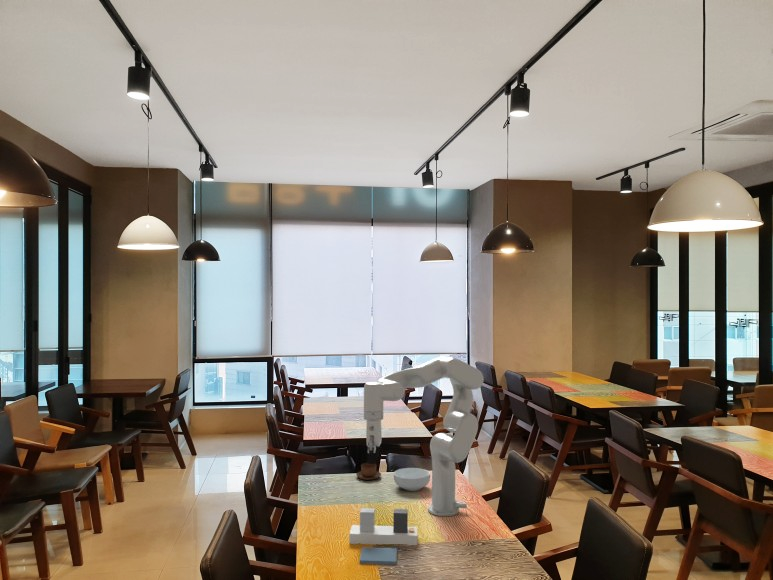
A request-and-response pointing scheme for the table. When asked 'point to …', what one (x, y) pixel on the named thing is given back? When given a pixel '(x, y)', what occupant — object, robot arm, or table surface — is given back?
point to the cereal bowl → (412, 478)
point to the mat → (378, 555)
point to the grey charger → (367, 519)
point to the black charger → (400, 521)
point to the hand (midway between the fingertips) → (373, 459)
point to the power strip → (382, 536)
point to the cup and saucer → (368, 472)
